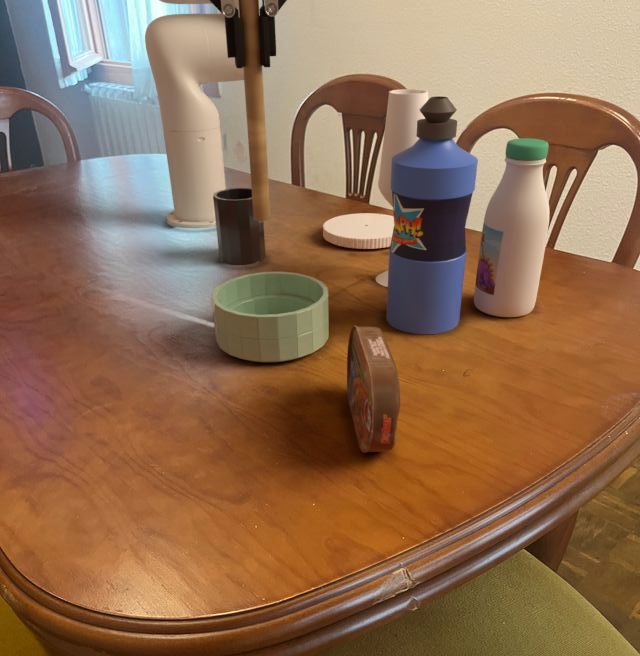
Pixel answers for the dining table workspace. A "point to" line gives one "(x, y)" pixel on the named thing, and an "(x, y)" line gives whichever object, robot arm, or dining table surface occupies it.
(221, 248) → the holder
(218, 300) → the bowl
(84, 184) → the dining table surface
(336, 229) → the plastic lid
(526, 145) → the milk bottle
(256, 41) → the stick
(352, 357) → the tin
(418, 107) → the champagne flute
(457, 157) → the water bottle
